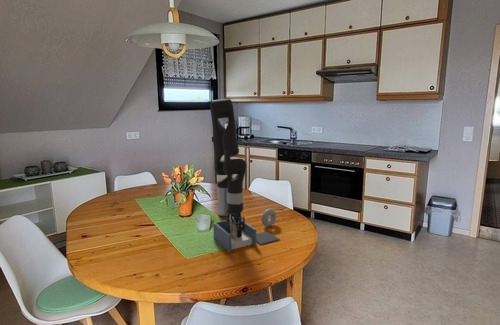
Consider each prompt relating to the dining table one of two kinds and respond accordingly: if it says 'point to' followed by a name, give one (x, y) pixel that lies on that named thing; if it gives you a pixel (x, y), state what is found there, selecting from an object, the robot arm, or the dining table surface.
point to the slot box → (227, 241)
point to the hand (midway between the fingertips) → (235, 234)
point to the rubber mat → (265, 238)
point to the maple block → (233, 230)
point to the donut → (266, 215)
